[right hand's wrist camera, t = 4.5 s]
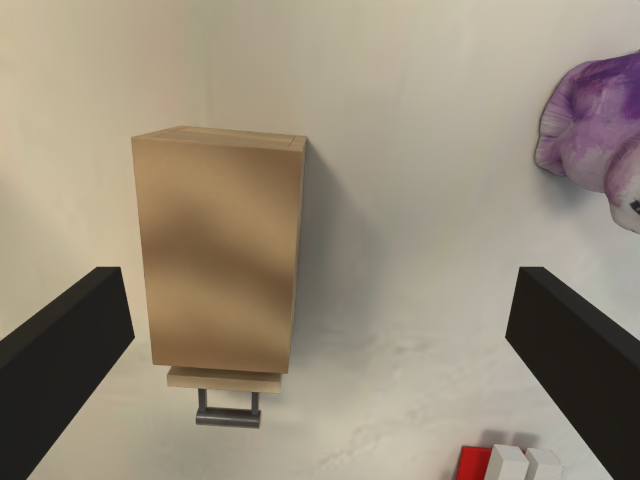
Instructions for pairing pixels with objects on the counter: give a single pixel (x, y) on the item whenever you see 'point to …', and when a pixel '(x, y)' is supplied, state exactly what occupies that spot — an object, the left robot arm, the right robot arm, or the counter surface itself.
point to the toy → (508, 464)
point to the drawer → (226, 381)
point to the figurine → (598, 133)
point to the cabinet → (220, 245)
